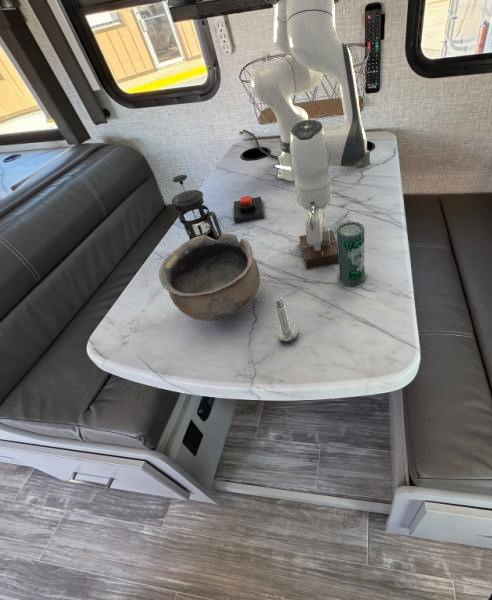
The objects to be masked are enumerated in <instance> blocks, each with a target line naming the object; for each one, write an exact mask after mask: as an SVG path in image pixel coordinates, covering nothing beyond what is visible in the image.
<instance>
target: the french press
mask: <svg viewBox="0 0 492 600" xmlns="http://www.w3.org/2000/svg"><path fill="white" fill-rule="evenodd" d="M187 179H188V175H186V174H178V175H176V176H174V177H173V178H172V179H171V182H173V183H179V185H181V187H182V189H183V192H180V193H178V194H176V195H175V196H174V197H173V198H172V200H171V203H172V205H173V206H174V207H175V209H176V210H177V211H178V212H179V214H178V219H179V222H180V223H181V224H183V227H184V229H185V231H186V235H187V236H188V241H189V240H191V239H193V238H195V237H199V236H203V235H206V236H208V237H209V238H211V239H214V240H218V239H219V238H220V237H221V234H223V232H222V229H221V227H220V224H219V220H218V218H217V215H216V212H215V211H210V210H209V207H208V206H207V205H204V202H205V201H204V200H205V199H204V193H203V191H201V190H199V189H189V190H186V189H185V186H184V181H185V180H187ZM195 210H198V213H199V215H200V217H198V218H197V216H196V213H195ZM205 211H206V212H205ZM189 212H192V215H193V217H194V219H190V220H186V217H185V215H186V214H187V213H189ZM211 217H212V218H211ZM212 220H213V221H212Z"/></svg>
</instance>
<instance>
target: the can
mask: <svg viewBox="0 0 492 600" xmlns="http://www.w3.org/2000/svg"><path fill="white" fill-rule="evenodd" d="M336 240H337V243H338V258H339V262H338V270H339V271H338V273H339V280H340V282H341V283H343V284H344V285H347V286H355V285H357V284H358V285H359V284H360V283H362V282H363V280H364V279H365V226H364V225H363V224H362V223H360V222H358V221H347V222H346V221H345V222H342V224H339V225H338V227H337V228H336Z"/></svg>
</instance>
